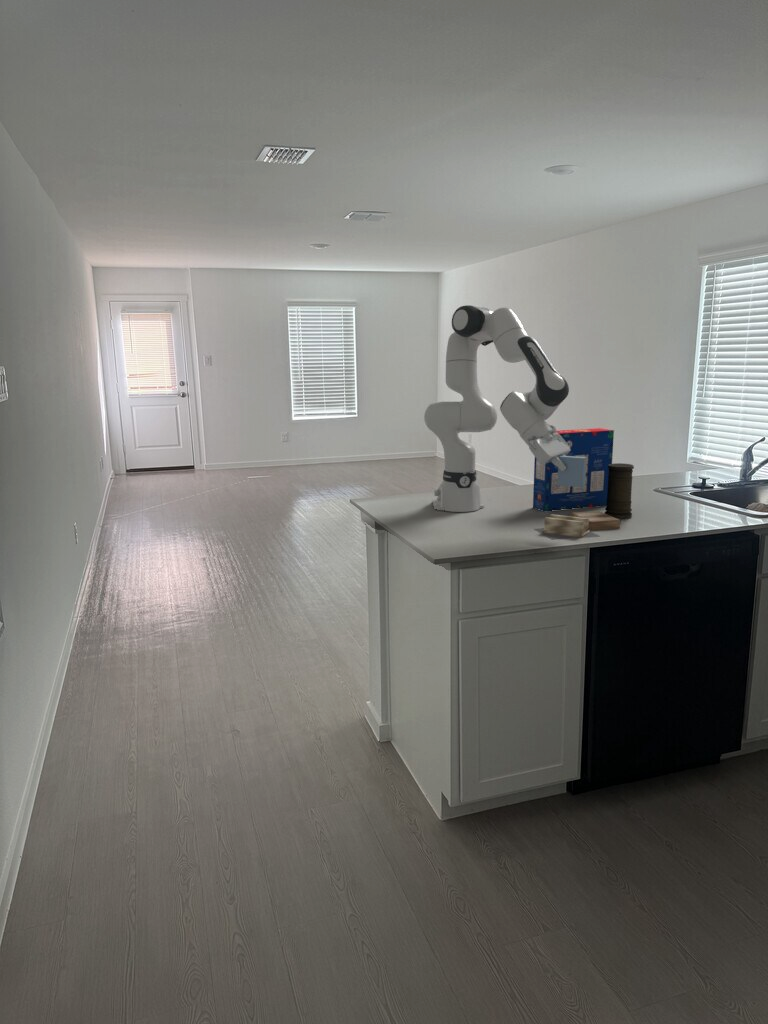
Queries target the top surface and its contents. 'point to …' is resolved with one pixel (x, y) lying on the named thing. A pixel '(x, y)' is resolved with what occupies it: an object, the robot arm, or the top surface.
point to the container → (619, 491)
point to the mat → (558, 536)
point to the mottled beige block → (566, 525)
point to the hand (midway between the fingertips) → (567, 468)
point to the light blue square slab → (572, 471)
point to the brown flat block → (598, 520)
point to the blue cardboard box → (596, 485)
